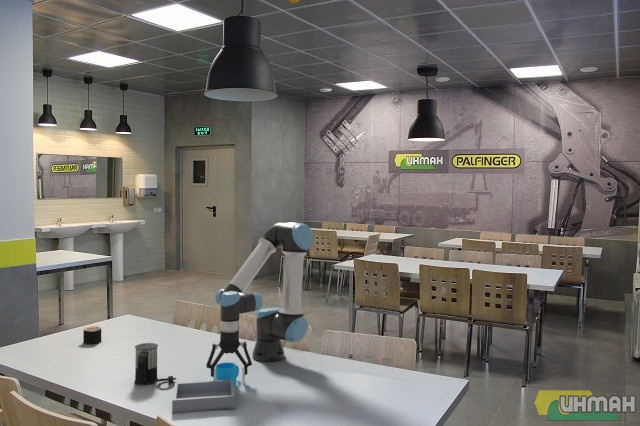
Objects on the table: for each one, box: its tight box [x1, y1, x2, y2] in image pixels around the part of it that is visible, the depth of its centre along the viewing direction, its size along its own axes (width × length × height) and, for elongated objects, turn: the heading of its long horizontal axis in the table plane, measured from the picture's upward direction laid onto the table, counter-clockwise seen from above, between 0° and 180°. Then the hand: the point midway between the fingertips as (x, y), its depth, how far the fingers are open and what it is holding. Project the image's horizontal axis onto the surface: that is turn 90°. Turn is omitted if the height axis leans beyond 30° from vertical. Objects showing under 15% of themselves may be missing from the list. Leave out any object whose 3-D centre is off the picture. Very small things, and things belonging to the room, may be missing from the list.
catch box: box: [171, 379, 236, 415], centre depth 194 cm, size 22×17×5 cm
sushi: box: [82, 325, 103, 346], centre depth 267 cm, size 8×8×8 cm
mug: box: [215, 361, 240, 388], centre depth 213 cm, size 12×8×8 cm
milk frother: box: [134, 342, 177, 386], centre depth 213 cm, size 14×16×15 cm
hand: (229, 383), depth 213 cm, fingers open, 11 cm apart
